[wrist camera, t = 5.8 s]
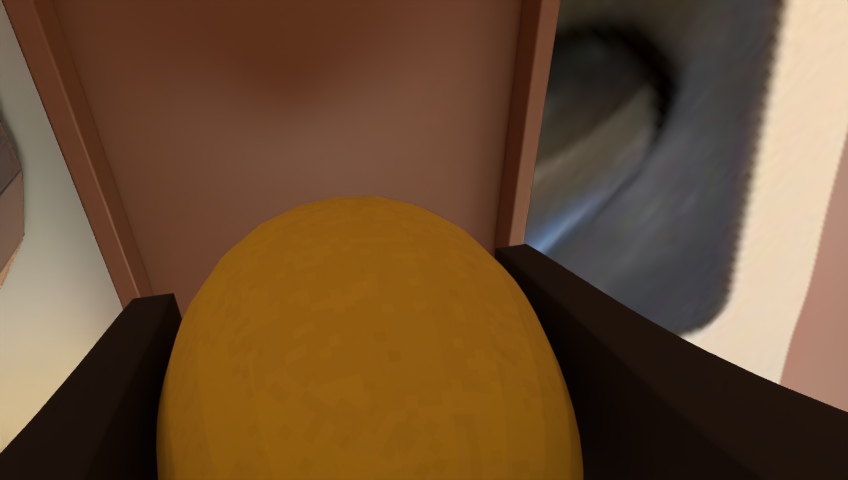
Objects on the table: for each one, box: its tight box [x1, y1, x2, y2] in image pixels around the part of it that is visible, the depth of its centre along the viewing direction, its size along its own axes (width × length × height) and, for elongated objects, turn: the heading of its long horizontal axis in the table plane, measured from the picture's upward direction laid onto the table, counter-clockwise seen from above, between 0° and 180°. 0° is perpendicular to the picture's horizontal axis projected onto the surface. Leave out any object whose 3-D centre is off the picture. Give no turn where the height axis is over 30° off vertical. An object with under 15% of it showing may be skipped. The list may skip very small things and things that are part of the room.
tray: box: [2, 0, 560, 319], centre depth 16 cm, size 19×13×2 cm
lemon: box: [156, 196, 583, 480], centre depth 8 cm, size 6×6×8 cm
